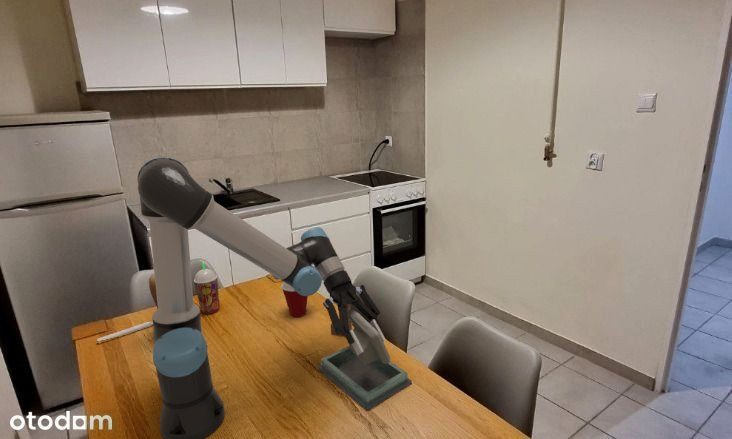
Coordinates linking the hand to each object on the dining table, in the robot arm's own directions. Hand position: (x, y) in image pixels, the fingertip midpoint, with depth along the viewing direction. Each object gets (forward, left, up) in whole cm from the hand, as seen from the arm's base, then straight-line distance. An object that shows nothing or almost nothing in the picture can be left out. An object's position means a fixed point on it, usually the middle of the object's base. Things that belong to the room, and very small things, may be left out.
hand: (371, 347), depth 116 cm
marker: (-48, +78, -12) cm, 92 cm away
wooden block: (+8, +27, -11) cm, 30 cm away
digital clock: (+1, +3, -4) cm, 5 cm away
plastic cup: (+4, +49, -11) cm, 50 cm away
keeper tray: (-1, +4, -11) cm, 11 cm away
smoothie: (-20, +74, -11) cm, 77 cm away
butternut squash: (-34, +64, -11) cm, 73 cm away
